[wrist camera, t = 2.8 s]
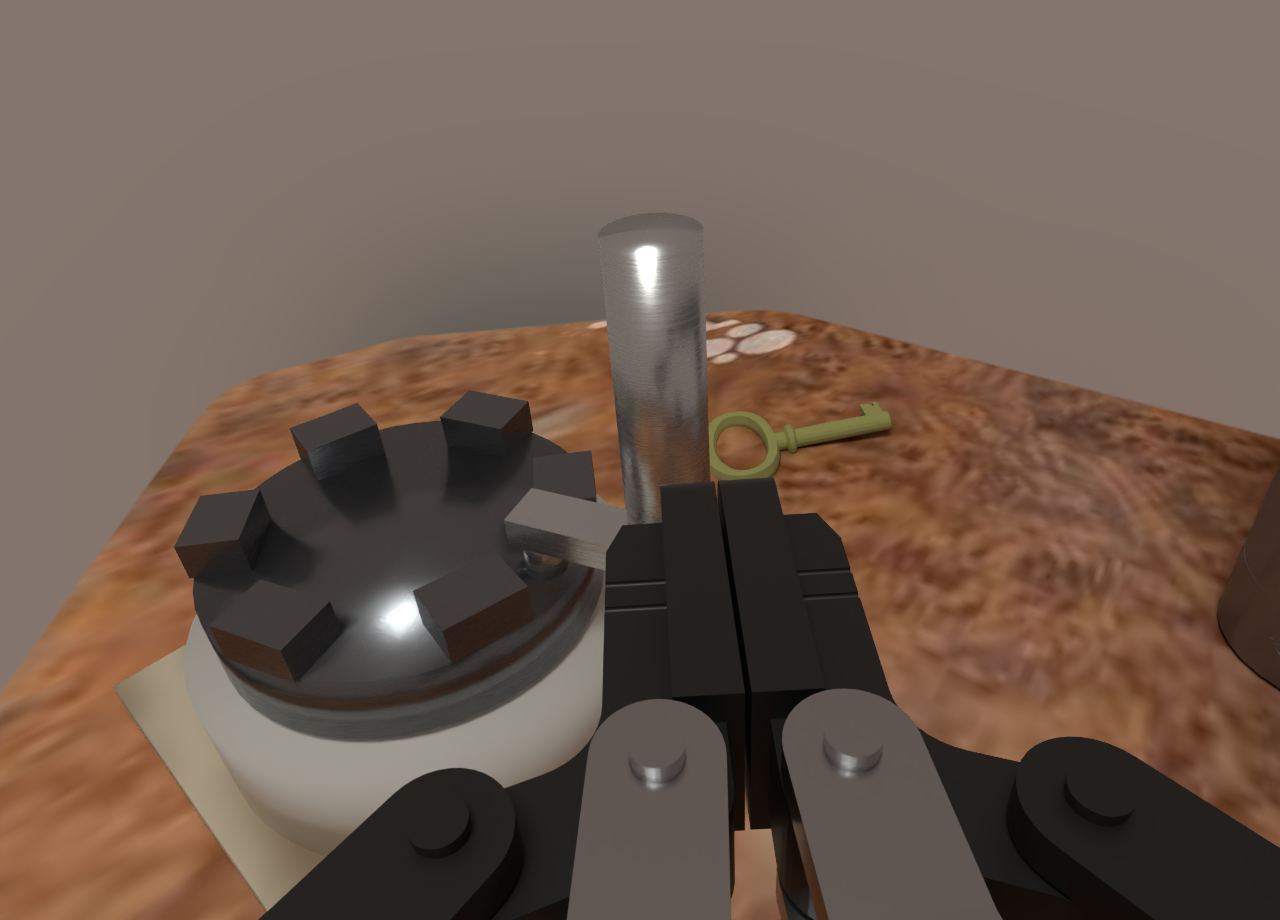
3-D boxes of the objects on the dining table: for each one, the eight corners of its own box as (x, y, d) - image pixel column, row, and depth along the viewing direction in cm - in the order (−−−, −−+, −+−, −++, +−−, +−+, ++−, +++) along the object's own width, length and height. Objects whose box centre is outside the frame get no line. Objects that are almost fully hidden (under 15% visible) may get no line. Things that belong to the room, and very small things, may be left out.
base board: (491, 495, 54) (486, 469, 53) (779, 676, 41) (780, 647, 40) (130, 714, 42) (112, 687, 41) (375, 1071, 29) (360, 1045, 28)
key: (898, 442, 57) (901, 414, 56) (730, 500, 53) (729, 471, 52) (835, 393, 62) (836, 366, 61) (679, 442, 59) (677, 415, 58)
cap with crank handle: (457, 432, 47) (383, 107, 37) (772, 616, 34) (783, 198, 25) (154, 597, 38) (-47, 223, 28) (431, 925, 25) (241, 457, 16)
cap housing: (481, 490, 52) (465, 419, 49) (733, 650, 40) (732, 568, 37) (157, 684, 41) (112, 607, 38) (375, 974, 30) (335, 896, 27)
